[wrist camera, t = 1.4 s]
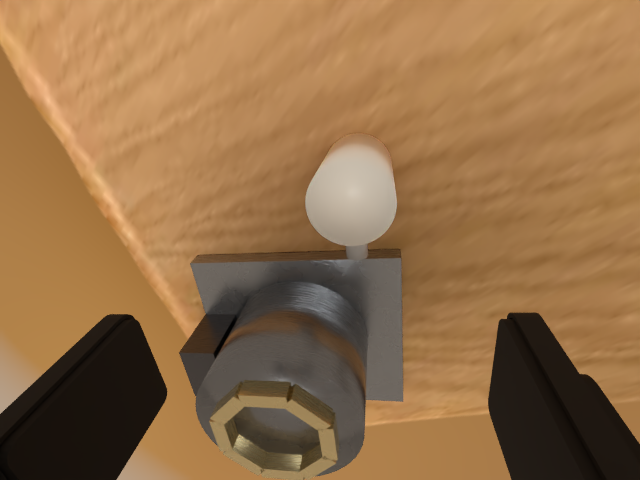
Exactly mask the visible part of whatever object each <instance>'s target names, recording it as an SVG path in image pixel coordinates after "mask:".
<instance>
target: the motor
mask: <svg viewBox="0 0 640 480" xmlns="http://www.w3.org/2000/svg"><path fill="white" fill-rule="evenodd" d="M190 265H191V268H192V271H193V274H194V277H195V281H196V284H197V287H198V290H199V294H200V297H201V300H202V303H203V306H204V310H205V313H206V315H205V316H204V318H203V319H202V321H201V322H200V323H199V325H198V326H197V328H196V329H195V331H194V332H193V333H192V335H191V336H190V338H189V339H188V341H187V342H186V344H185V345H184V346H183V348H182V349H181V351H180V352H179V354H180V356H181V359H182V362H183V364H184V367H185V370H186V372H187V375H188V378H189V381H190V383H191V386H192V388H193V391H194V394H195V396H196V412H197V416H198V419H199V421H200V424H201V426H202V428H203V429H204V431H205V432H206V434H207V435H208V436H209V437H210V439H211V440H212V441H213V442H214V443H215V444H216V445H217V446H218V447H219V450H220V451H224V453H223V454H224V455H225V456H227V457H228V458H230V459H232V460H233V461H235V462H237V463H238V464H240V465H241V466H243V467H245V468H246V469H248V470H250V471H251V472H253V473H254V474H256V475H260V474H262V477H266V478H277V479H289V480H304V479H305V478H306V479H307V480H309V479H311V478H313V477H314V476H321V475H325V474H329V473H332V472H335V471H337V470H339V469H341V468H343V467H344V466H346V465H347V464H349V463H350V462H351V461H352V460H353V459H354V458H355V457H356V456H357V454H358V453H359V452H360V449H361V447H362V445H363V441H364V430H365V404H366V400H381V401H402V402H403V351H402V277H401V252H400V249H390V250H368V257H367V258H365V259H363V260H357V261H355V260H350V259H348V258H347V256H346V251H323V252H289V253H255V254H222V255H198V256H197V257H196V258H195V259H194V260H193V261H192V262H191V263H190Z"/></svg>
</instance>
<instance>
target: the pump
mask: <svg viewBox="0 0 640 480" xmlns="http://www.w3.org/2000/svg"><path fill="white" fill-rule="evenodd" d="M305 205H306V212H307V215H308V218H309V220H310V222H311V224H312V225H313V227H314V228H315V229H316V231H317V232H318V233H319V234H321V235H322V236H323V237H324V238H326V239H328V240H329V241H331V242H334V243H336V244H340V245H345V246H346V256H347V258H348V259H350V260H355V261H357V260H363V259H365V258H367V257H368V244H367V243H370V242H372V241H374V240H376V239H378V238H379V237H380V236H382V235H383V234H384V233H385V232H386V231H387V230H388V228H389V227H390V226H391V224H392V222H393V220H394V217H395V214H396V209H397V198H396V190H395V183H394V175H393V168H392V160H391V156H390V154H389V151H388V149H387V148H386V146H385V145H384V144H383V143H382V142H381V141H380V140H378V139H377V138H375V137H374V136H371V135H368V134H364V133H354V134H349V135H346V136H344V137H342V138H340V139H339V140H338V141H336V142H335V143H334V144H333V145H332V147H331V148H330V150H329V151H328V153H327V155H326V157H325V158H324V160H323V162H322V163H321V165H320V167H319V169H318V170H317V172H316V174H315V176H314V177H313V179H312V181H311V183H310V184H309V187H308V189H307V193H306V199H305Z"/></svg>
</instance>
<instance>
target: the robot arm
mask: <svg viewBox="0 0 640 480" xmlns="http://www.w3.org/2000/svg"><path fill="white" fill-rule="evenodd" d="M166 396H167V388H166V385H165V383H164V381H163V378H162V376H161V373H160V372H159V369H158V366H157V364H156V361H155V359H154V357H153V354H152V352H151V349H150V347H149V345H148V343H147V340H146V338H145V336H144V333H143V330H142V328H141V326H140V323H139V322H138V321H137V320H135V319H134V317H133V316H132V315H128V314H117V315H116V314H111V315H107V316H106V317H104V318H103V319H102V320H101V321H100V322H99V323H98V324H96V325H95V326H94V327H93V328H92V329H91V330H90V331H89V332H88V333H87V334H86V335H85V336H84V337H82V338H81V339H80V340H79V341H78V342H77V343H76V344H75V345H74V346H73V347H72V348H71V349H70V350H69V351H68V352H66V353H65V355H63V356H62V357H61V358H60V359H59V360H58V361H57V362H56V363H55V364H54V365H52V366H51V367H50V368H49V369H48V370H47V371H46V372H45V373H44V374H43V375H42V376H41V377H40V378H39V379H38V380H36V381H35V382H34V383H33V384H32V385H31V386H30V387H29V388H28V389H27V390H26V391H25V392H23V393H22V394H21V395H20V396H19V397H18V398H17V399H16V400H15V401H14V402H13V403H12V404H11V405H10V406H8V407H7V409H5V410H4V411H3V412H2V413H1V414H0V480H116V479H117V478H118V476H119V475H120V473H121V471H122V470H123V468H124V467H125V465H126V463H127V462H128V460H129V459H130V457H131V455H132V454H133V452H134V450H135V449H136V447H137V446H138V444H139V442H140V441H141V439H142V438H143V436H144V434H145V433H146V431H147V430H148V428H149V426H150V425H151V423H152V422H153V420H154V418H155V417H156V415H157V414H158V412H159V410H160V409H161V407H162V405H163V404H164V402H165V400H166ZM488 406H489V412H490V416H491V419H492V422H493V425H494V428H495V431H496V434H497V437H498V440H499V443H500V446H501V449H502V452H503V455H504V458H505V461H506V464H507V467H508V470H509V473H510V476H511V479H512V480H640V444H639V443H638V441H637V440H636V438H635V437H634V436H633V434H632V433H631V431H630V430H629V428H628V427H627V426H626V424H625V423H624V421H623V420H622V418H621V417H620V416H619V414H618V413H617V411H616V410H615V408H614V407H613V406H612V404H611V403H610V401H609V400H608V398H607V397H606V396H605V394H604V393H603V391H602V390H601V388H600V387H599V386H598V384H597V383H596V382H595V381H594V380H593V379H592V378H591V377H590V376H588V375H586V374H579V372H578V371H577V369H576V368H575V367H574V365H573V364H572V362H571V361H570V359H569V358H568V356H567V355H566V353H565V352H564V350H563V349H562V347H561V346H560V344H559V343H558V341H557V340H556V338H555V337H554V335H553V334H552V332H551V331H550V329H549V328H548V326H547V325H546V323H545V322H544V320H543V319H542V317H541V316H540V315H539V314H538V313H509V314H508V316H507V319H501V320H500V321H499V325H498V332H497V339H496V347H495V354H494V362H493V369H492V376H491V384H490V391H489V398H488Z"/></svg>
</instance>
